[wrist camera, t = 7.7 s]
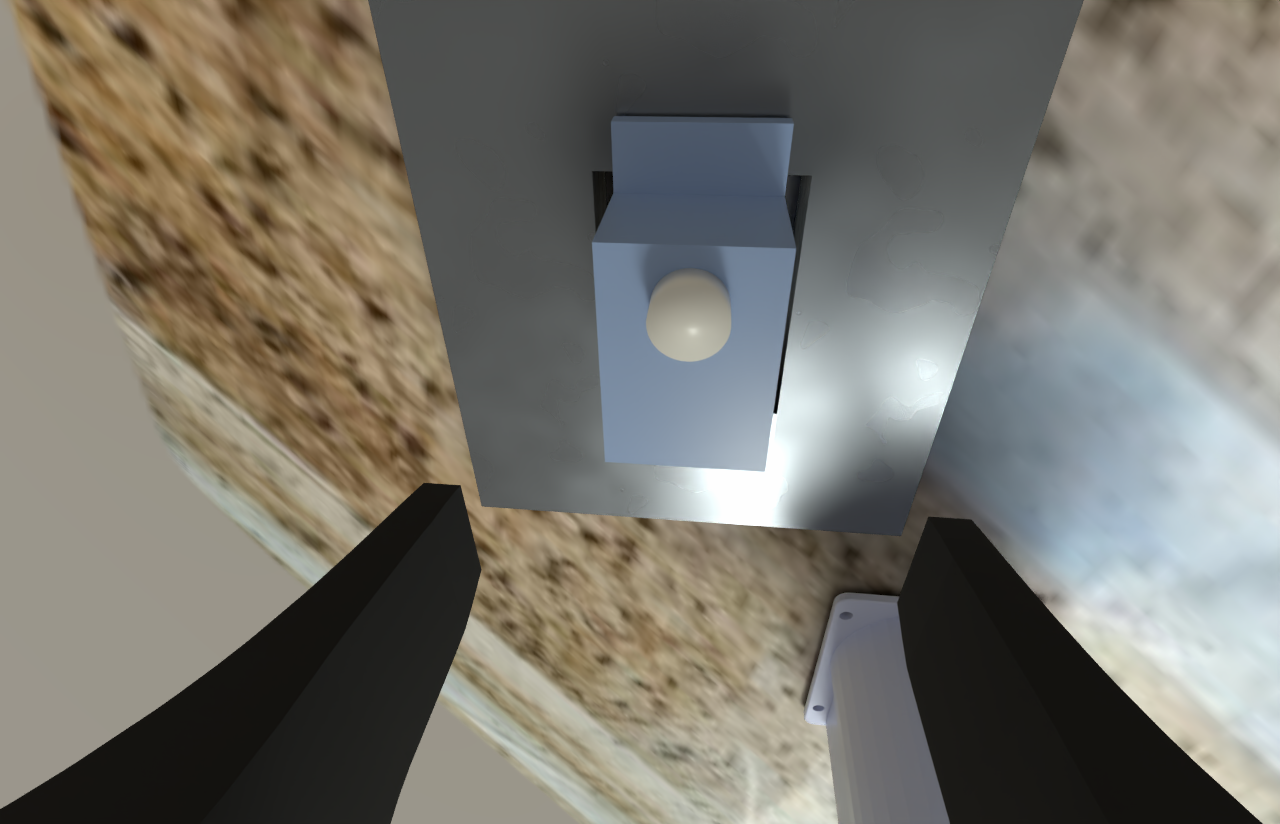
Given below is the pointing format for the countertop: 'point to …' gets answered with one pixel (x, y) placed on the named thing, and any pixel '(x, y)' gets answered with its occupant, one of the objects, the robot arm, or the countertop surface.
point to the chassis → (823, 232)
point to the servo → (693, 289)
